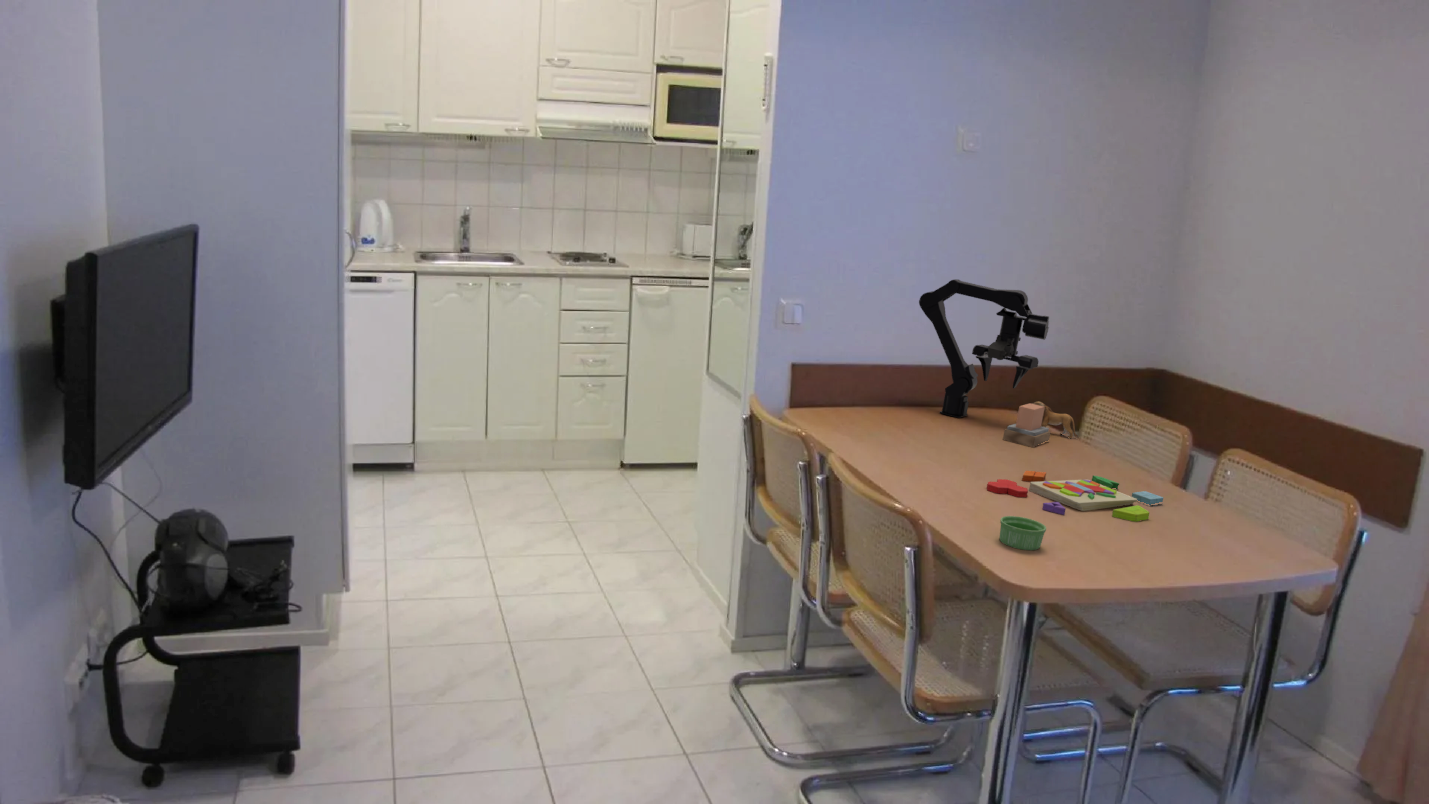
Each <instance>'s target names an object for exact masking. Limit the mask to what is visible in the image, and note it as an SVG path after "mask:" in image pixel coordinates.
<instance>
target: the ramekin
mask: <svg viewBox="0 0 1429 804" xmlns="http://www.w3.org/2000/svg"><path fill="white" fill-rule="evenodd" d="M999 520H1000V522H999V523H1000V529H999V531H1000V532H999V541H1000V542H1001V543H1002V544H1004V545H1006V546H1008V547H1011V548H1014V549H1018V550H1023V551H1036V550H1038V549H1040V547H1041V546H1042V542H1043V539H1044V536H1045V533H1046V531H1047V526H1046V525H1045V524H1044V523H1042V522H1040V521H1037V520H1035V519H1032V518H1028V517H1023V516H1014V515H1007V516H1002V517H1001V518H1000V519H999Z"/></svg>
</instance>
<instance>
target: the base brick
mask: <svg viewBox="0 0 1429 804" xmlns="http://www.w3.org/2000/svg"><path fill="white" fill-rule="evenodd" d="M1049 430H1050V428H1049V427H1047V426H1046V427H1042V426H1041V427H1040V428H1037V429H1034V430H1031V431H1030V430H1026V429H1022V428H1018V427H1016V423H1012V424H1010V425H1007V428H1005V429H1004V431H1003V435H1002V436H1003V437H1002V440H1004V441H1007V442H1010V443H1015V444H1017V445H1022V446H1026V447H1029V446H1030V448H1036V447H1038V446H1037V445H1038V444H1041V443H1043V442H1045V441H1048V440H1049V441H1050V436H1051V431H1049ZM1035 446H1036V447H1035Z"/></svg>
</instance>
